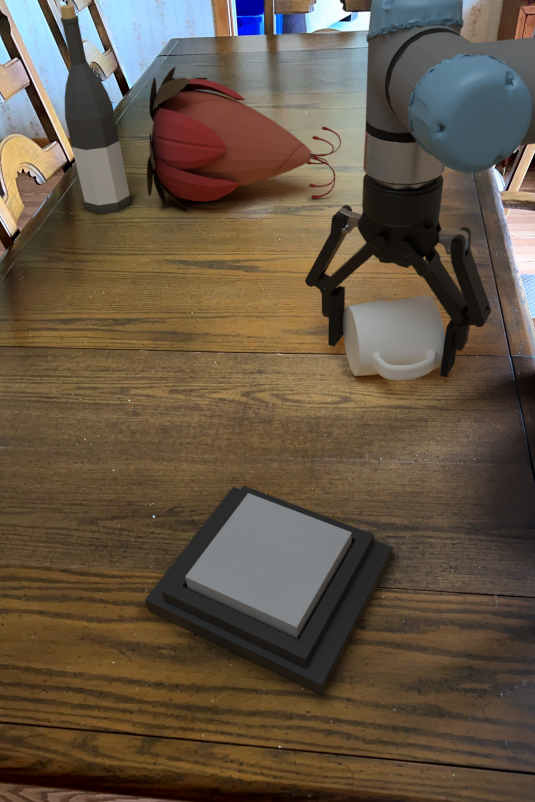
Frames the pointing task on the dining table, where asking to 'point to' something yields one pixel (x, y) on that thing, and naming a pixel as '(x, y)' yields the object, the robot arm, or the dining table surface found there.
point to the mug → (394, 337)
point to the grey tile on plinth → (270, 563)
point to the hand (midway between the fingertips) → (389, 354)
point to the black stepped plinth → (256, 641)
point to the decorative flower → (215, 142)
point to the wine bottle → (92, 128)
